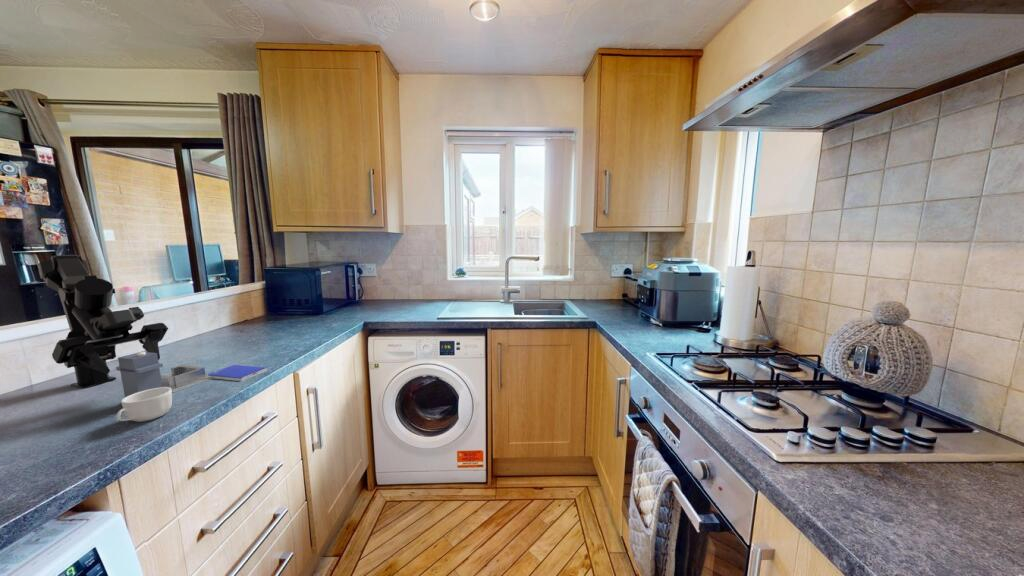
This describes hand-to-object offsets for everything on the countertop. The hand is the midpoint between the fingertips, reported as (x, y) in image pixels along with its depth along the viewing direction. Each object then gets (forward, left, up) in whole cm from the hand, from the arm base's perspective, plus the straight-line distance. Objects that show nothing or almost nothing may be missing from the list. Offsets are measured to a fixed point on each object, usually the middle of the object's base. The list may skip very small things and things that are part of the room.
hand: (134, 365), depth 83 cm
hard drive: (+6, +19, -10) cm, 22 cm away
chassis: (-5, +10, -9) cm, 15 cm away
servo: (+1, 0, -9) cm, 9 cm away
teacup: (+13, -6, -10) cm, 17 cm away
